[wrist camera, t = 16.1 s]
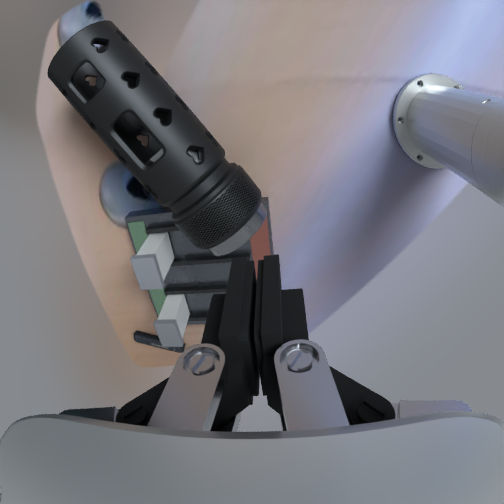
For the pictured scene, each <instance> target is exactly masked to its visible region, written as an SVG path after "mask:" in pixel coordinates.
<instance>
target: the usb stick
mask: <svg viewBox="0 0 504 504" xmlns="http://www.w3.org/2000/svg"><path fill="white" fill-rule="evenodd" d="M134 340H135V341H136V342H139V343H143V344H147V345H151V346H155V347H159V348H162V349H166V350H171V351H175V352H180V353H181V352H184V348H185V343H184V344H183V347H163V346H162V344H161V342H160V339H159V337H158V336H156V335H151V334H148V333H144V332H140V331H136V332H135V333H134Z"/></svg>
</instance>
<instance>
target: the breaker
mask: <svg viewBox="0 0 504 504" xmlns="http://www.w3.org/2000/svg"><path fill="white" fill-rule="evenodd" d="M130 260H131V263H132V266H133V269H134V272H135V275H136V278H137V281H138V283H139V286H140V289H141V290H149V289H163V288H164V286H165V284H164V279H165V277H166V275H167V273H168V271H169V268H170V266H171V264H172V262H173V260H174V254H173V251H172V247H171V243H170V239H169V235H168V232H160V233H150V234H149V236H148V237H147V239H146V240H145V242H144V244H143V245H142V247H141V248H140V250H139V251H138V253H137V254H136V255H134V256H132V257H131V259H130Z"/></svg>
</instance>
